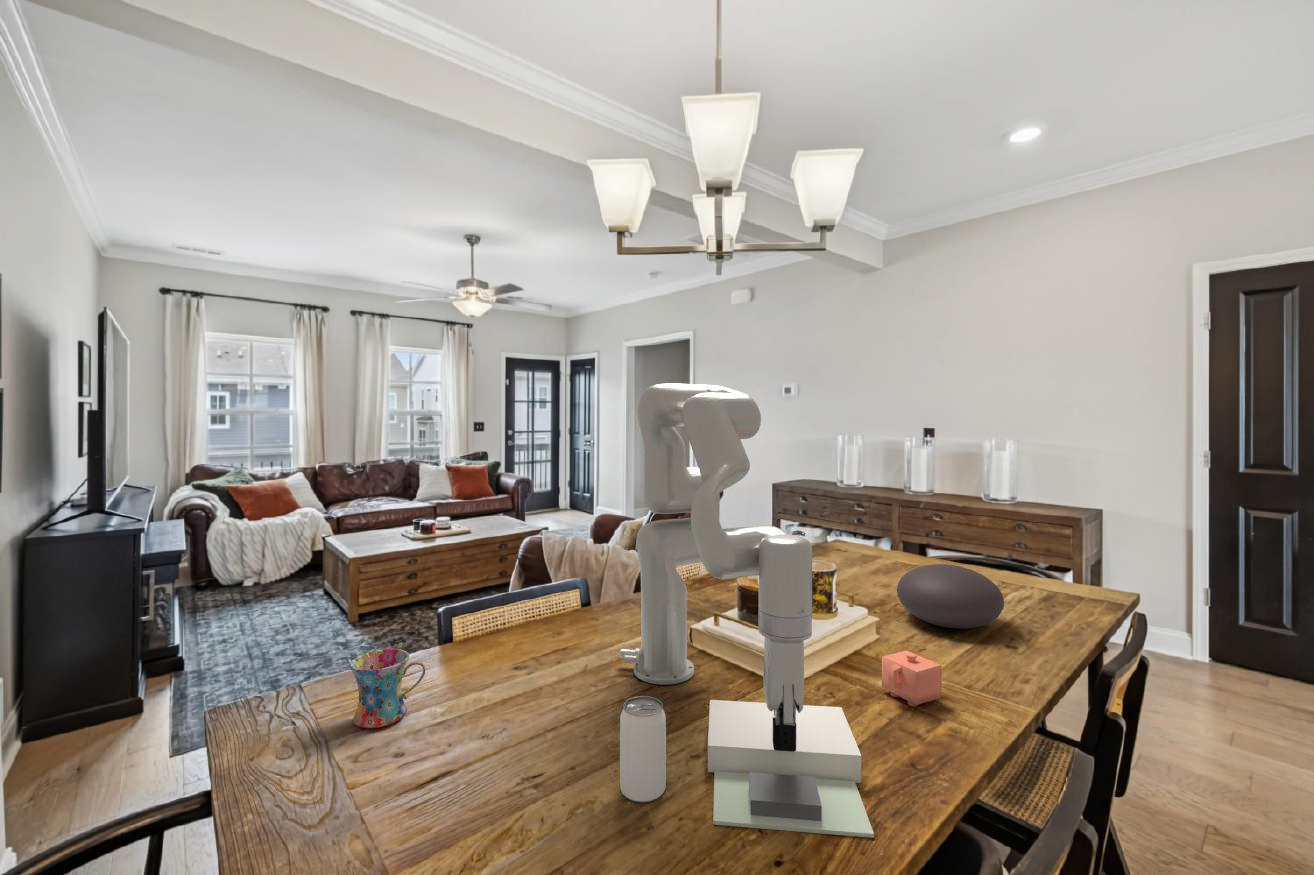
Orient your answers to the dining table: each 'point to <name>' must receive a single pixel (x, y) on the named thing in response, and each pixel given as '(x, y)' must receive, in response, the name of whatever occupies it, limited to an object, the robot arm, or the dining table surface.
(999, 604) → the flattened ellipsoid
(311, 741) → the dining table surface
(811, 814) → the tile
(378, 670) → the mug
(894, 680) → the pink cube teapot
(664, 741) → the can
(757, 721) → the plate
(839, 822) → the mat
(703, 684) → the dining table surface
